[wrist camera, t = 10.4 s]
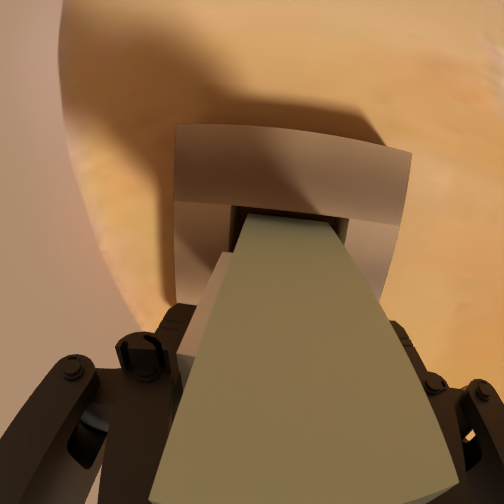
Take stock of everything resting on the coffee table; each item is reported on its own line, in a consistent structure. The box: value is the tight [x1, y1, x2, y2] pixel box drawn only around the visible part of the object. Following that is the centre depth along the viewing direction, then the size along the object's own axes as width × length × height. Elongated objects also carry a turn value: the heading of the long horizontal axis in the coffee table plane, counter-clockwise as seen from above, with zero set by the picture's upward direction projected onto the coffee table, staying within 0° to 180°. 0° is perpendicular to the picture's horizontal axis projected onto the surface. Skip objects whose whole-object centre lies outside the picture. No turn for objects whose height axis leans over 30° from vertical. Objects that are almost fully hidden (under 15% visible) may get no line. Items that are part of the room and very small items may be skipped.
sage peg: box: [148, 214, 459, 504], centre depth 9 cm, size 4×4×14 cm
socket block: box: [173, 124, 412, 306], centre depth 16 cm, size 14×12×3 cm
